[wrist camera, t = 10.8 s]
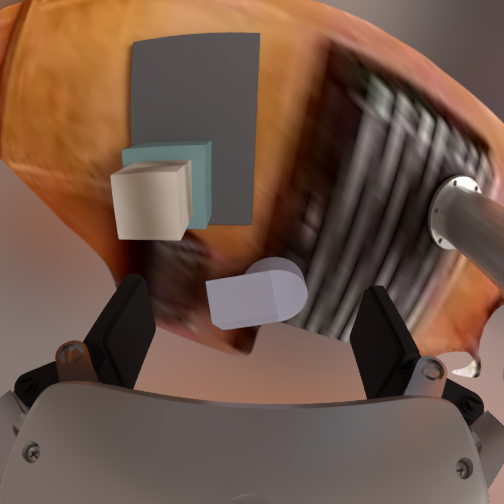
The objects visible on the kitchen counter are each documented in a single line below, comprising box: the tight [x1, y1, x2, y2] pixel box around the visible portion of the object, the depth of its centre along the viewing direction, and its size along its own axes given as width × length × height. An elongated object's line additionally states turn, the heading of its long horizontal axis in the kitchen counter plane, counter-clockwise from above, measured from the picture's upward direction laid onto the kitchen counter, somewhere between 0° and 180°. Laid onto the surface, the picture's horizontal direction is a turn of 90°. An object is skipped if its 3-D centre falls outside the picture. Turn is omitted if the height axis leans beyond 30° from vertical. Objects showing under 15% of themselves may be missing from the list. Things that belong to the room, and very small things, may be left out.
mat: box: [131, 33, 260, 225], centre depth 29 cm, size 15×24×1 cm, turn 178°
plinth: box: [122, 141, 212, 229], centre depth 29 cm, size 9×9×5 cm
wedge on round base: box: [206, 257, 308, 330], centre depth 37 cm, size 9×7×13 cm
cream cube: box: [110, 160, 193, 240], centre depth 24 cm, size 6×6×6 cm
